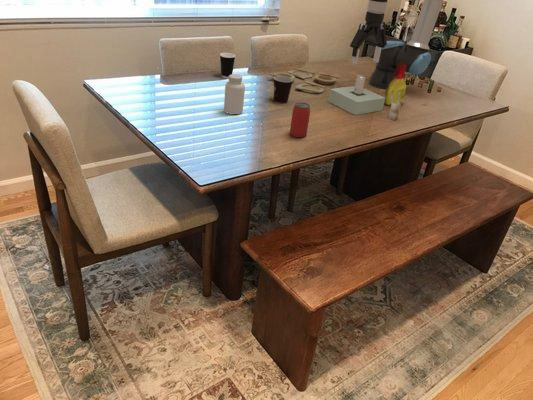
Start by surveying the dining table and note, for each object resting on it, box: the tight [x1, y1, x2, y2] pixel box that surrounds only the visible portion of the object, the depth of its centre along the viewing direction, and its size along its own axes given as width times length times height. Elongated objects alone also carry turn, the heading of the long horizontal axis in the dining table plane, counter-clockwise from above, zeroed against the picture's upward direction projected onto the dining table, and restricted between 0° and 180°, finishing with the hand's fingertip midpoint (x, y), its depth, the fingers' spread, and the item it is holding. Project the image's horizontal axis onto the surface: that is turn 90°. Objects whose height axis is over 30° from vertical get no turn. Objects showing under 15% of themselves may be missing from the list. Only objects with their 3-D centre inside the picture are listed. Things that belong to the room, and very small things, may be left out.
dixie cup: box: [219, 52, 236, 79], centre depth 218 cm, size 8×8×11 cm
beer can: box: [289, 101, 311, 138], centre depth 165 cm, size 7×7×12 cm
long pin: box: [353, 74, 367, 96], centre depth 200 cm, size 4×4×14 cm
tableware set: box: [268, 67, 341, 94], centre depth 227 cm, size 35×29×4 cm
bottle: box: [384, 63, 407, 106], centre depth 207 cm, size 12×6×20 cm, turn 120°
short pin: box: [387, 102, 402, 121], centre depth 193 cm, size 4×4×7 cm
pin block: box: [327, 85, 385, 116], centre depth 202 cm, size 18×18×6 cm
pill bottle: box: [223, 73, 246, 115], centre depth 177 cm, size 8×8×15 cm
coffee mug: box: [273, 76, 294, 104], centre depth 198 cm, size 12×9×10 cm
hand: (364, 62), depth 194 cm, fingers open, 13 cm apart
